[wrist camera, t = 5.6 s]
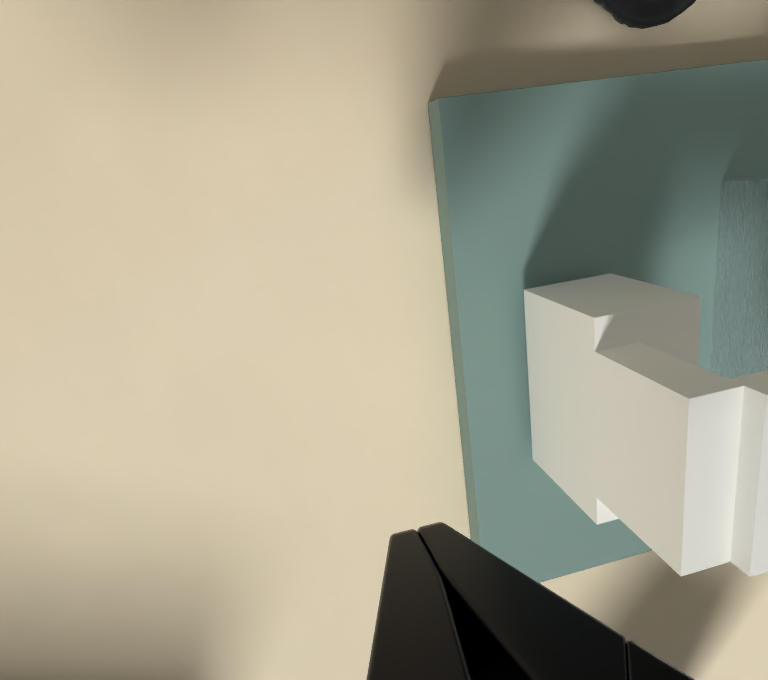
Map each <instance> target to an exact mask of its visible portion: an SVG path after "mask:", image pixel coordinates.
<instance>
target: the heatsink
mask: <svg viewBox="0 0 768 680" xmlns="http://www.w3.org/2000/svg"><path fill="white" fill-rule="evenodd" d="M766 370H768V174H763V175H757V176H751V177H744V178H738V179H732V180H726V181H721V188H720V205H719V222H718V240H717V257H716V274H715V292H714V309H713V326H712V344H711V361H710V372H712V373H715V374H717V375H720V376H722V377H724V378H727V379H732V378H736V377H741V376H745V375H749V374H753V373H758V372H762V371H766Z"/></svg>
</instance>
